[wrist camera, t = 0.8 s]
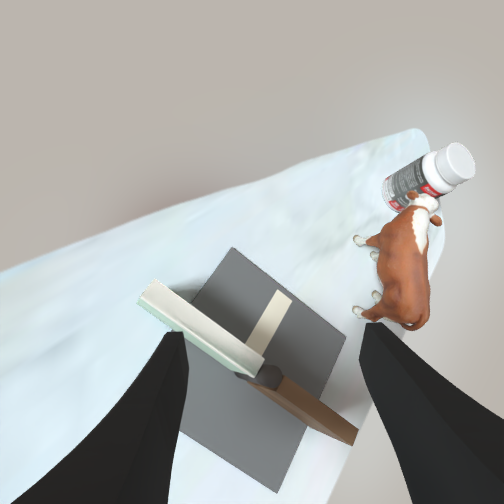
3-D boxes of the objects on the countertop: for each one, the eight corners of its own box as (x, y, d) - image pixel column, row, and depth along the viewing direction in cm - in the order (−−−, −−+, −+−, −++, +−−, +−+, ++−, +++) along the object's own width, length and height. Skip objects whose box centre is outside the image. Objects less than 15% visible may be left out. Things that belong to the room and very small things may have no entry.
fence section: (310, 428, 27) (355, 449, 22) (230, 372, 25) (259, 380, 20) (317, 412, 27) (363, 429, 22) (239, 356, 26) (269, 361, 21)
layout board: (275, 492, 25) (277, 494, 24) (125, 394, 23) (125, 395, 22) (344, 337, 31) (346, 337, 30) (231, 248, 28) (232, 247, 28)
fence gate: (239, 355, 26) (264, 359, 21) (229, 371, 25) (254, 378, 21) (147, 289, 24) (154, 278, 20) (135, 304, 24) (140, 296, 19)
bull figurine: (384, 218, 37) (450, 188, 30) (378, 335, 32) (454, 334, 25) (354, 205, 36) (415, 171, 28) (343, 325, 31) (412, 321, 24)
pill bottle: (383, 212, 37) (451, 179, 30) (377, 175, 38) (440, 135, 31) (413, 214, 39) (483, 185, 32) (405, 179, 40) (472, 142, 33)
